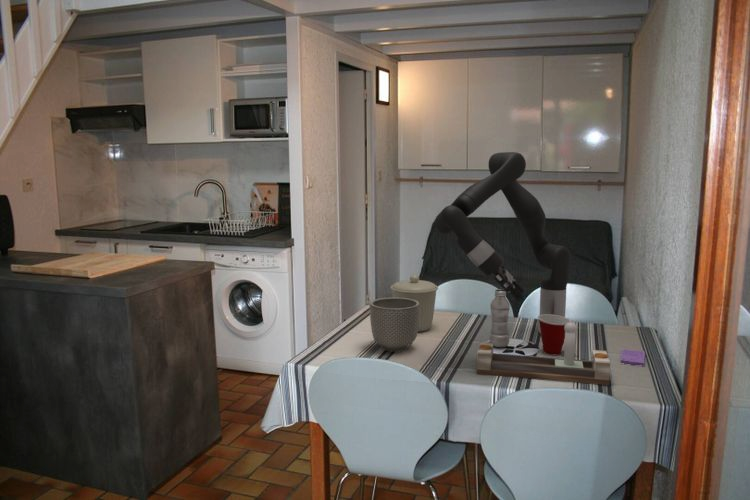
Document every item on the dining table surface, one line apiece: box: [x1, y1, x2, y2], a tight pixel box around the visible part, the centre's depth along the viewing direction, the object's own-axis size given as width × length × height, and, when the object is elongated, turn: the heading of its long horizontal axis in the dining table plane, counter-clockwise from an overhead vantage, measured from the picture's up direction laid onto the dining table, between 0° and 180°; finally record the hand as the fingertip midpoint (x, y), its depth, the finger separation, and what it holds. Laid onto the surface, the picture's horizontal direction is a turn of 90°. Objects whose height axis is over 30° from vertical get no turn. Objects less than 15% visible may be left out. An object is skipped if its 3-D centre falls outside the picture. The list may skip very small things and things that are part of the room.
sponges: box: [620, 348, 646, 367], centre depth 200 cm, size 7×13×2 cm, turn 156°
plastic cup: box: [537, 314, 572, 356], centre depth 207 cm, size 11×11×12 cm
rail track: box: [476, 341, 611, 386], centre depth 188 cm, size 12×38×7 cm, turn 75°
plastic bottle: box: [489, 288, 511, 348], centre depth 213 cm, size 6×7×20 cm
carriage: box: [555, 321, 584, 369], centre depth 185 cm, size 6×8×15 cm
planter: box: [369, 296, 420, 352], centre depth 212 cm, size 17×17×16 cm
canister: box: [390, 274, 439, 333], centre depth 235 cm, size 18×18×21 cm
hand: (521, 296), depth 191 cm, fingers open, 8 cm apart
